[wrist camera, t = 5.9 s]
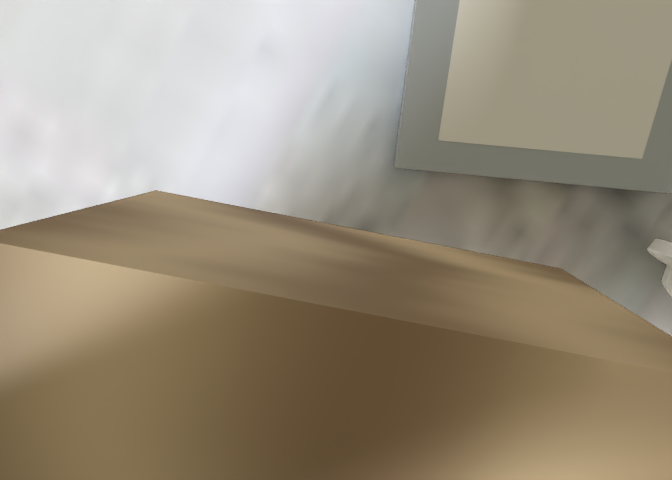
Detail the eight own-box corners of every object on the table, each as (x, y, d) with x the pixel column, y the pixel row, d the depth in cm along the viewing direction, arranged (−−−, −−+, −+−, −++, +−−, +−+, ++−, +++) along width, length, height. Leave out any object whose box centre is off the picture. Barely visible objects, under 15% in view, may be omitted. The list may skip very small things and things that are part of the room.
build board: (393, 166, 26) (395, 168, 25) (434, -154, 21) (439, -172, 20) (656, 191, 26) (671, 193, 24) (757, -131, 21) (782, -148, 20)
